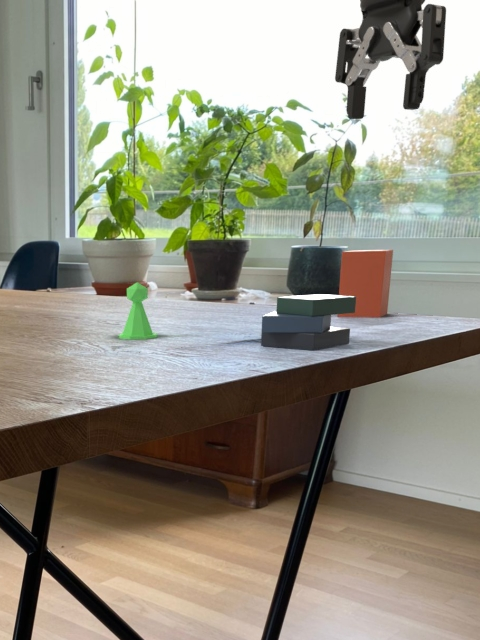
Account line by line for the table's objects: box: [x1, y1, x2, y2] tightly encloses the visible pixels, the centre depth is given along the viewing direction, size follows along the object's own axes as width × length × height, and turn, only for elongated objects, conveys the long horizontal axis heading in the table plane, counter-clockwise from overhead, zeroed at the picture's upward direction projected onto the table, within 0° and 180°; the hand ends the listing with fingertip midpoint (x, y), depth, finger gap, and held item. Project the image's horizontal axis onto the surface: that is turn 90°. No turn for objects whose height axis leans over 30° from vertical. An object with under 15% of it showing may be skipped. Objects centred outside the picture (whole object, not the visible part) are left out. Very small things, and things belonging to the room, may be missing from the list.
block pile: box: [260, 293, 356, 351], centre depth 80 cm, size 8×8×4 cm
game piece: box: [118, 281, 158, 340], centre depth 86 cm, size 4×4×6 cm
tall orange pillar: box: [336, 249, 394, 318], centre depth 101 cm, size 5×5×8 cm
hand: (382, 114), depth 103 cm, fingers open, 8 cm apart
